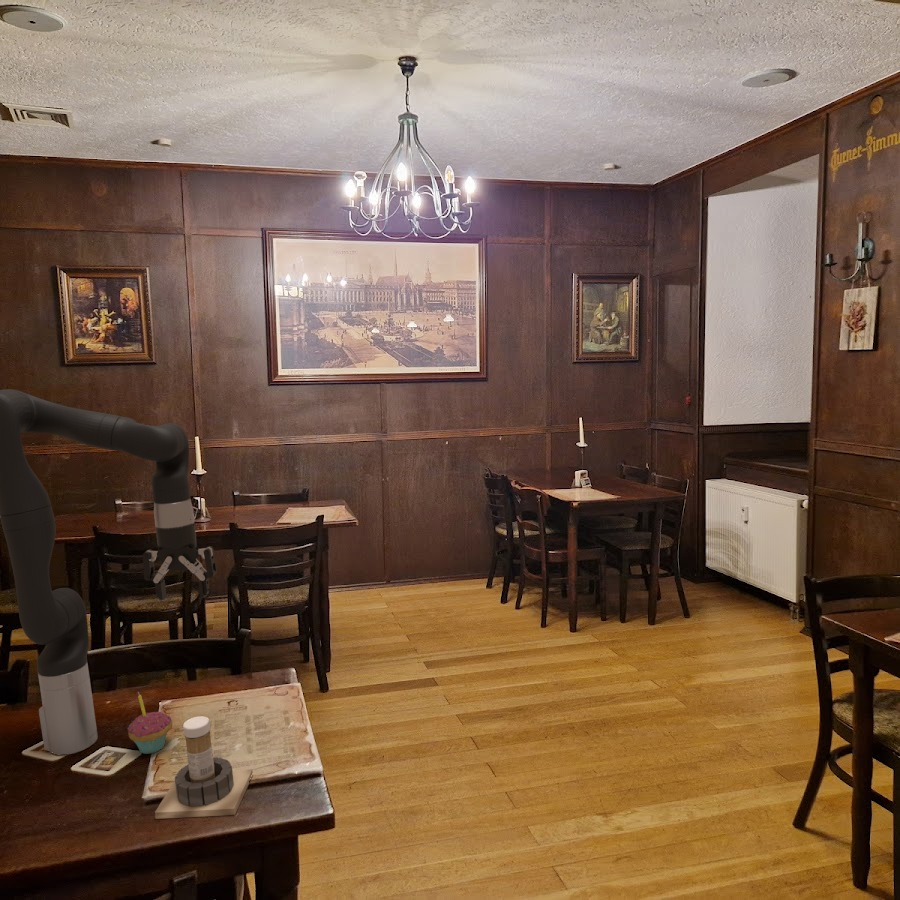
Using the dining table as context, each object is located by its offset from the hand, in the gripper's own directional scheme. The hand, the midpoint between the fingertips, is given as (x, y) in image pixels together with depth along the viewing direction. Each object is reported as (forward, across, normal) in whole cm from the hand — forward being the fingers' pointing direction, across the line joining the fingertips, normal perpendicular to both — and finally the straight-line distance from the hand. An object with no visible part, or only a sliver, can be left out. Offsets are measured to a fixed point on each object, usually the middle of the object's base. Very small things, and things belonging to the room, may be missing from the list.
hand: (183, 597), depth 156 cm
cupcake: (+30, -8, -5) cm, 32 cm away
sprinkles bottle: (+29, +9, -23) cm, 38 cm away
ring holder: (+30, +9, -23) cm, 39 cm away
